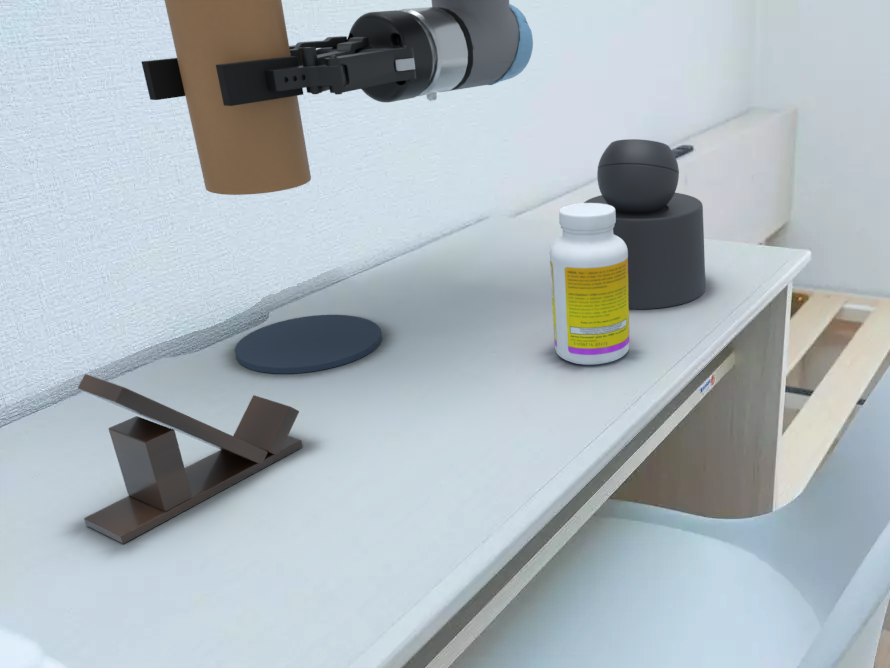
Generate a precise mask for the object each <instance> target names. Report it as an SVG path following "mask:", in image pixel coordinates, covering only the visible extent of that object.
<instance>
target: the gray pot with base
mask: <svg viewBox="0 0 890 668" xmlns="http://www.w3.org/2000/svg"><path fill="white" fill-rule="evenodd" d="M679 170H680V169H679V164H678V161H677V158H676V156H675V153H674V151H673V150H672V149H671V147H670V145H668V144H666V143H664V142H660V141H656V140H651V139H641V138H625V139H616V140H614V141H612V142H610V144H609V145H608V146H607V147H606V148H605V149H604V151H603V153H602V154H601V156H600V158H599V161H598V165H597V173H596V176H597V177H596V178H597V185H598V189H599V192H600V194H601V195H597V196H594V197H591V198H589V199H587V200H586V201H584V202H583V203H601V204H607V205H611V206H613V207H614V208H615V212H616V222H615V224H614V225H615V226H614V227H613V234H614V235H616V236H618V237H620V238H621V239H622V240H623V241H624V242H625V244H626V246H627V249H628V294H629V310H652V309H654V310H655V309H663V308H670V307H676V306H679V305H683V304H687V303H689V302H691V301H695V300H696V299H698V298H700V297H701V296H702V295H703V294H704V293H705V291H706V288H707V287H706V285H707V284H706V262H705V261H706V260H705V259H706V257H705V232H704V207H703V202H702V201H701V200H700V199H698V198H697V197H695V196H693V195H692V196H691V195H689V194H685V193H680V192H677V188H678V185H679V177H680V171H679Z"/></svg>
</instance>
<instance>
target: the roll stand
mask: <svg viewBox="0 0 890 668" xmlns="http://www.w3.org/2000/svg"><path fill="white" fill-rule="evenodd" d="M77 389H78V390H79V391H82V392H84V393H87V394H89V395H91V396H94V397H96V398H99V399H101V400H103V401H106V402H108V403H110V404H112V405H115V406H117V407H120V408H122V409H125V410H127V411H129V412H130V413H131V412H132V413H134V414H136V416H133V417H131V418H129V419H126V420H123V421H122V422H119V423H117V424H114V425H112V426H110V427H108V432H109V435H110V436H109V437H110V439H111V442H112V445H113V449H114V452H115V455H116V459H117V462H118V465H119V469H120V472H121V476H122V479H123V482H124V486H125V489H126V493H127V496H126V497H124V498H121V499H119V500H118V501H115V502H113V503H111V504H110V505H107V506H105V507H104V508H101V509H100V510H98V511H95V512H93V513H92V514H90V515H88V516H86V517H84V518H83V520H84V523H85V526H86V527H87V528H90V529H93V530H94V531H96V532H99V533H101V534H102V535H105V536H106V537H109V538H110V539H112V540H114V541H116V542H119V543H121V544H123V545H124V544H126V543H127V542H129V541H132V540H133V539H135V538H136V537H139V536H141V535H142V534H144V533H147V532H148V531H150V530H152V529H154V528H156V527H157V526H159V525H161V524H163V523H166V521H168V520H170V519H172V518H174V517H176V516H177V515H180V514H182V513H183V512H185V511H187V510H189V509H191V508H193V507H194V506H197V505H198V504H200V503H202V502H204V501H206V500H207V499H209V498H211V497H213V496H215V495H217V494H218V493H220V492H222V491H224V490H226V489H228V488H230V487H231V486H233V485H235V484H237V483H239V482H241V481H243V480H244V479H246V478H248V477H250V476H253V474H256V473H257V472H259V471H261V470H263V469H265V468H266V467H268V466H270V465H273V464H274V463H276V462H278V461H279V460H281V459H283V458H285V457H287V456H289V455H291V454H293V453H294V452H296V451H298V450H300V449H302V448H303V441H302V440H301V439H299V438H296V437H293V436H290V433H291V431H292V428H293V426H294V424H295V421H296V419H297V418H298V415H299V413H300V411H299V410H298V409H296V408H294V407H292V406H290V405H287V404H283V403H280V402H278V401H275V400H271V399H268V398H265V397H261V396H258V395H255V394H253V395H252V396H251V398H250V401H249V403H248V405H247V407H246V409H245V411H244V413H243V415H242V416H241V419H240V421H239V423H238V426H237V427H236V429H235V431H234V433H233V435H232V434H229V433H227V432H225V431H222V430H220V429H218V428H216V427H214V426H211V425H209V424H207V423H205V422H203V421H201V420H199V419H196V418H194V417H192V416H189V415H187V414H185V413H183V412H180V411H178V410H176V409H174V408H171V407H170V406H167V405H166V404H162V403H160V402H158V401H156V400H154V399H152V398H149V397H147V396H145V395H142V394H140V393H138V392H136V391H133V390H132V389H129V388H128V387H127V388H126V387H124V386H121V385H119V384H116V383H113V382H110V381H108V380H105V379H101V378H99V377H96V376H94V375H90V374H86V373H85V374H84V375H83V377H82V379H81V381H80V382H79V385H78V386H77ZM176 432H178V433H181V434H182V435H185V436H188V437H190V438H193V439H195V440H197V441H199V442H202V443H204V444H207V445H208V446H212V447H213V448H216V449H219V450H218V451H216V452H214V453H212V454H210V455H208V456H206V457H204V458H202V459H200V460H198V461H196V462H194V463H191V464H190V465H188V466H186V467H185V465H184V460H183V457H182V454H181V449H180V446H179V442H178V438H177V435H176Z"/></svg>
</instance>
